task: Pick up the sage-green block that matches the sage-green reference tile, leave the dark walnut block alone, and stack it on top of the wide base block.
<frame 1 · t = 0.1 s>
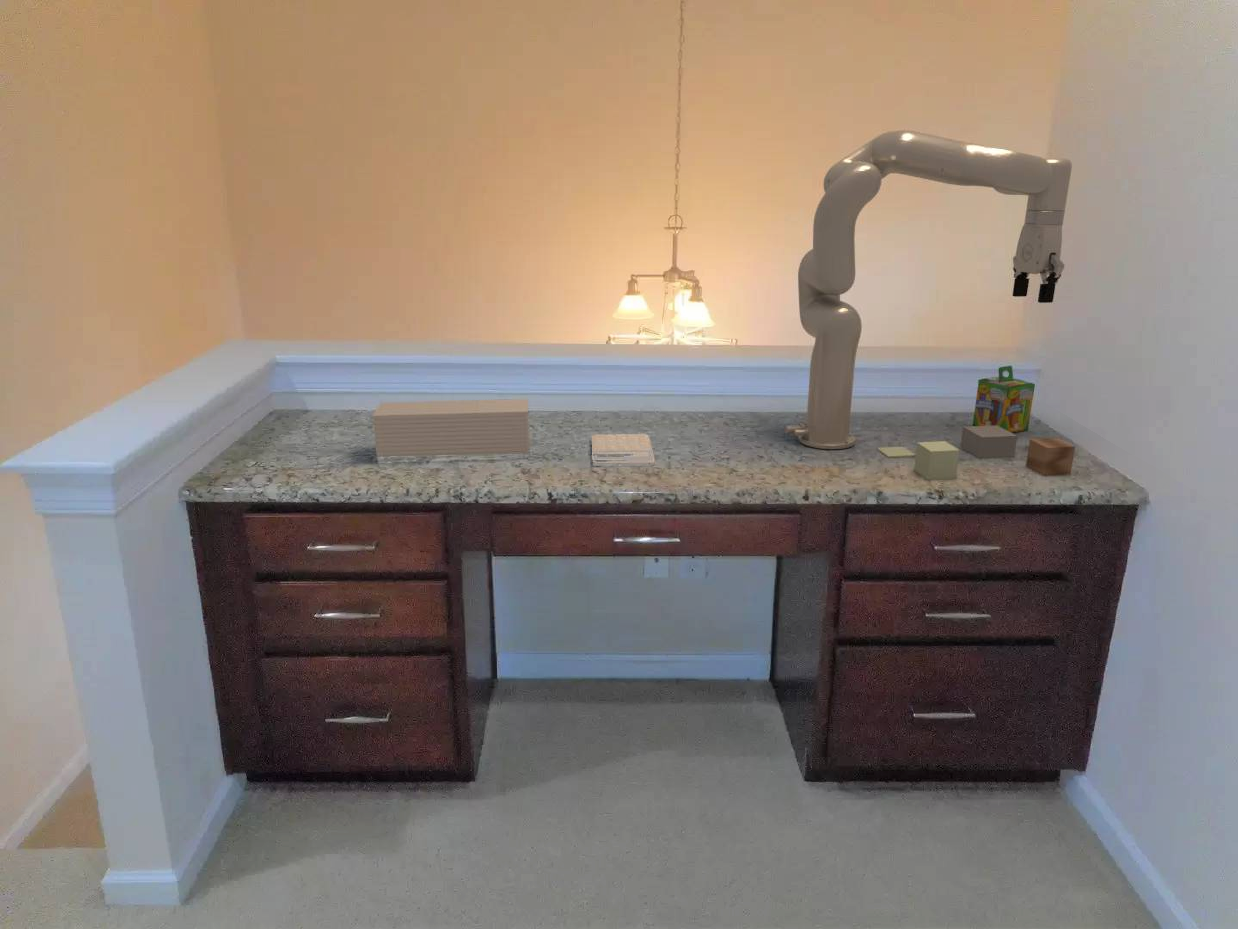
hand: (1032, 299, 191), 31 cm above the table, tool pointing down, fingers open, 9 cm apart
reference tile: (895, 453, 188), on the table
base block: (986, 453, 188), on the table
walnut block: (1047, 470, 177), on the table
sage block: (934, 474, 175), on the table
chalk box: (999, 429, 206), on the table
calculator: (621, 455, 189), on the table
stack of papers: (456, 455, 189), on the table
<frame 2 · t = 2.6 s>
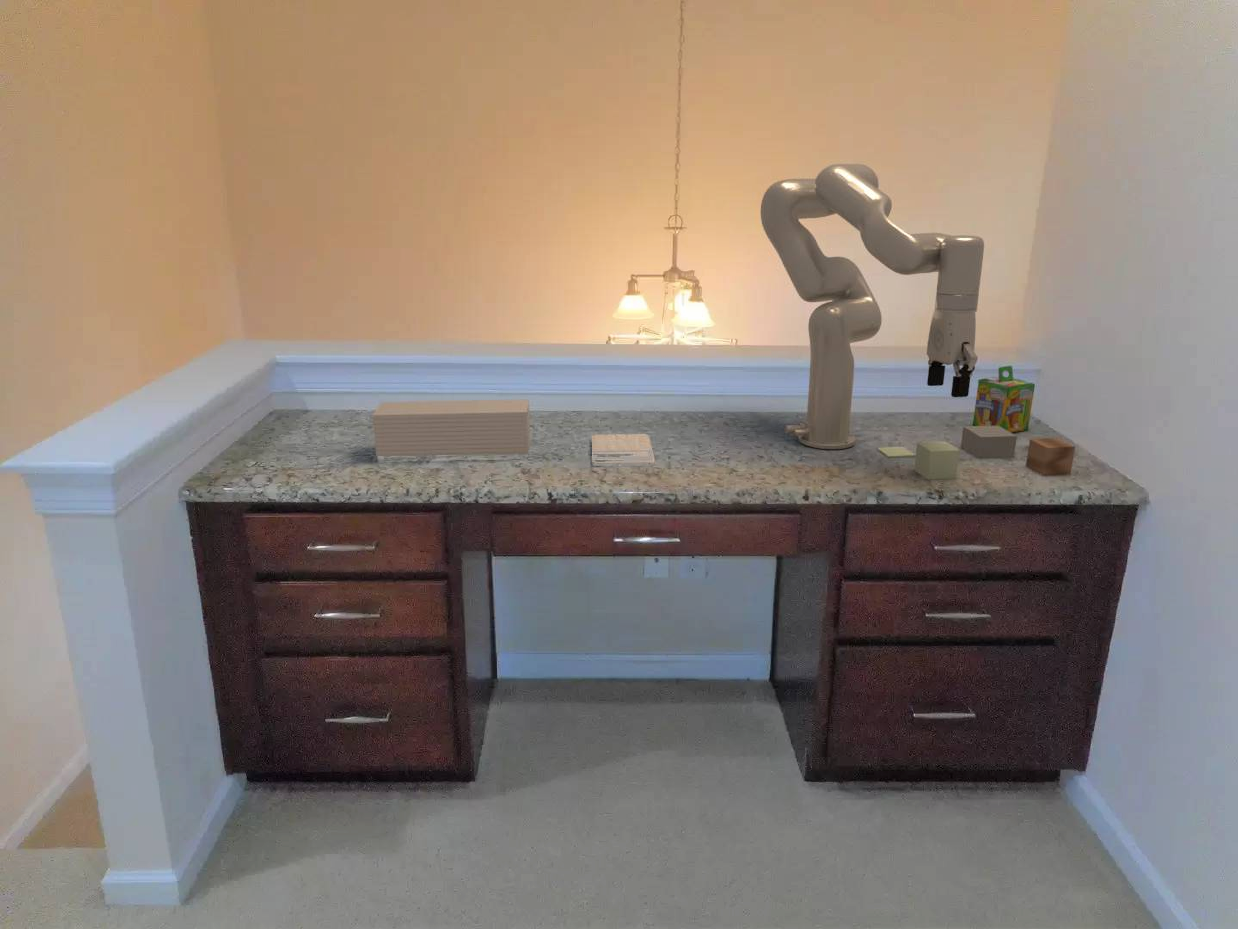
hand: (947, 390, 169), 17 cm above the table, tool pointing down, fingers open, 9 cm apart
nothing on the table moved.
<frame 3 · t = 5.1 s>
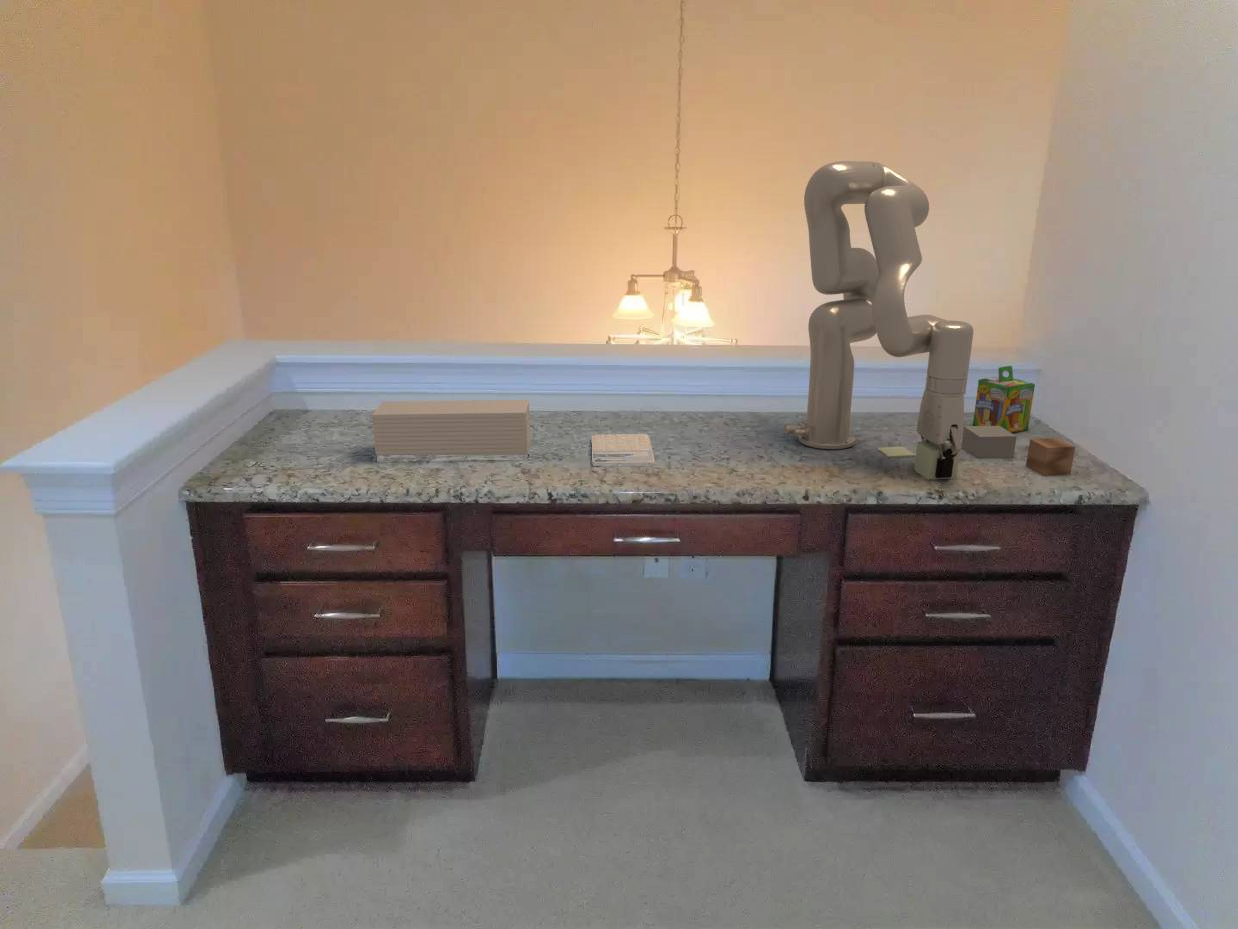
hand: (935, 471, 175), 1 cm above the table, tool pointing down, fingers closed on sage block, 6 cm apart
sage block: (934, 474, 175), on the table, touching gripper
everything else where it was.
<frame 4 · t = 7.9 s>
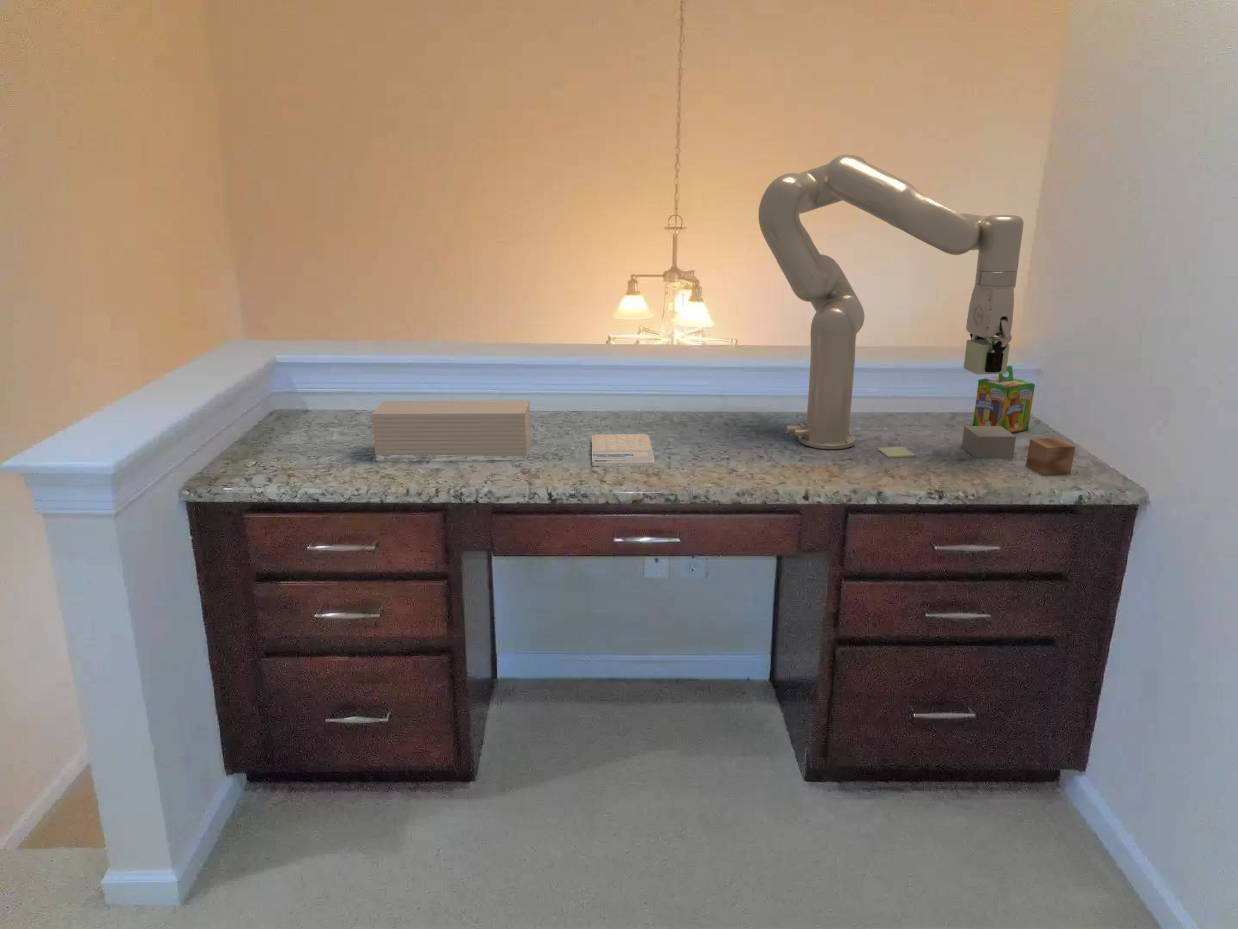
hand: (984, 367, 177), 20 cm above the table, tool pointing down, fingers closed on sage block, 6 cm apart
sage block: (984, 370, 178), point 19 cm above the table, touching gripper
everything else where it was.
when the fingers open (7 cm above the table, at t = 10.8 s): sage block drops 2 cm, resting on base block.
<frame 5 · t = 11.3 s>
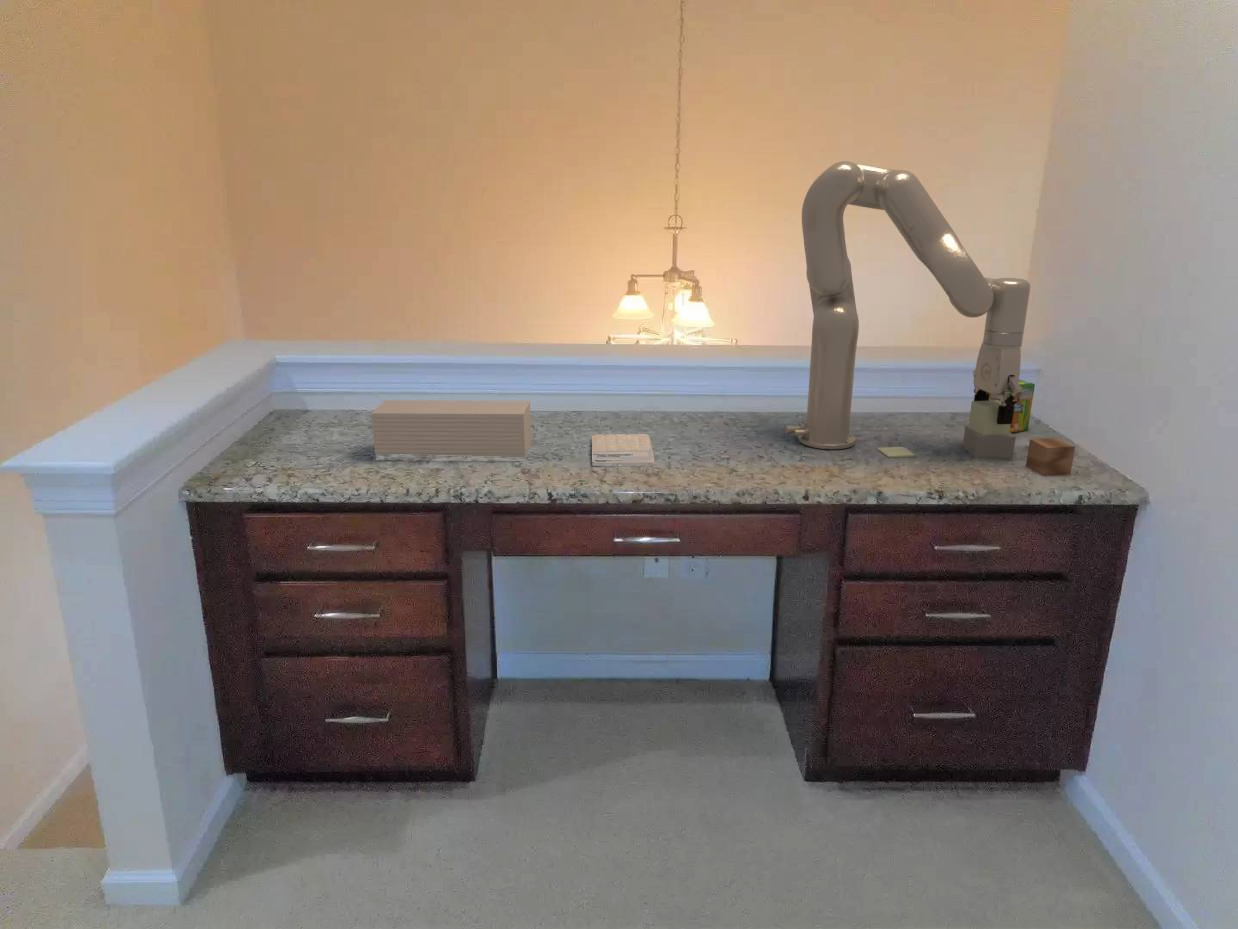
hand: (991, 417, 186), 8 cm above the table, tool pointing down, fingers open, 9 cm apart
base block: (986, 453, 188), on the table, touching sage block
sage block: (988, 431, 187), point 5 cm above the table, touching base block
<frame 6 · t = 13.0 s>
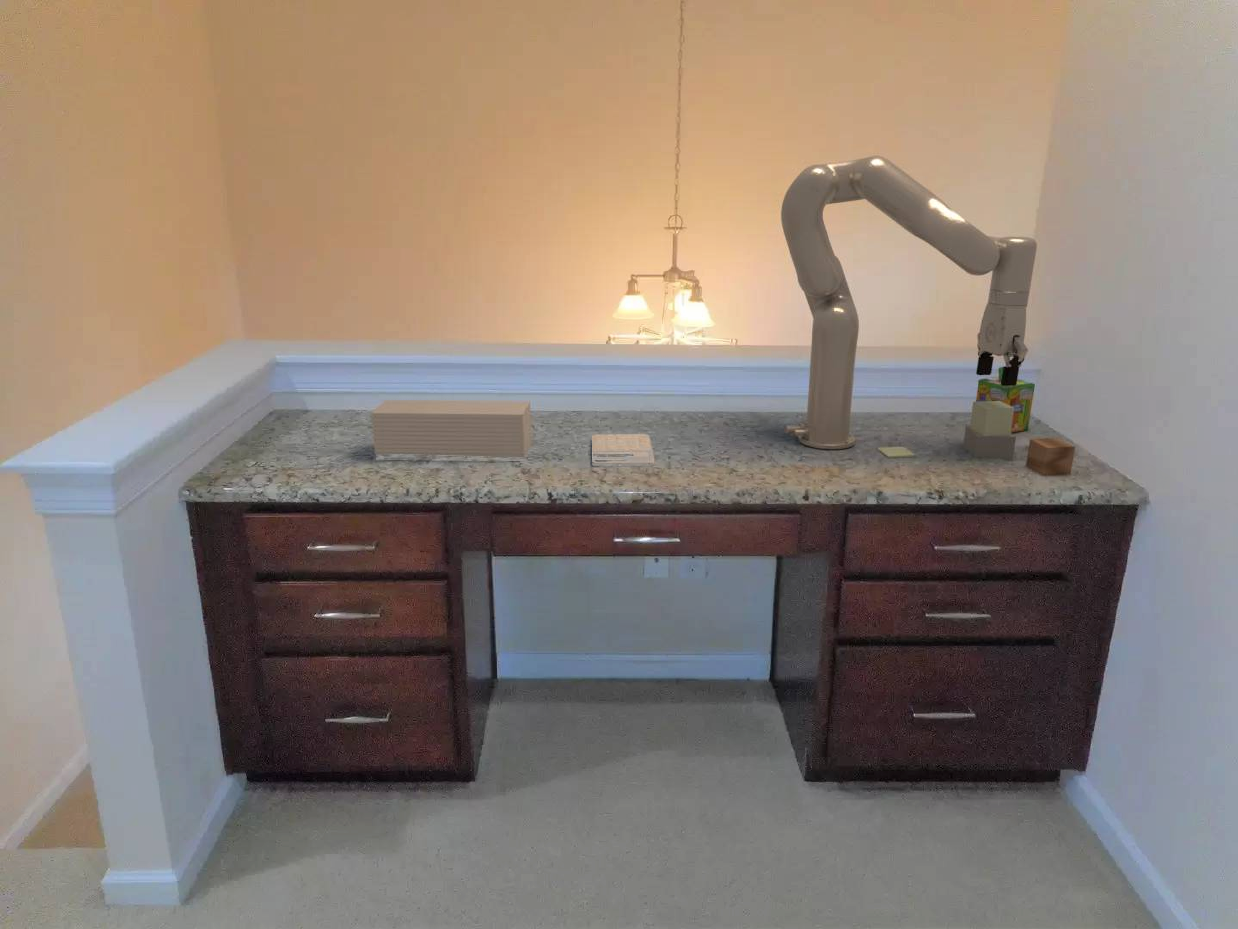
hand: (995, 379, 183), 16 cm above the table, tool pointing down, fingers open, 9 cm apart
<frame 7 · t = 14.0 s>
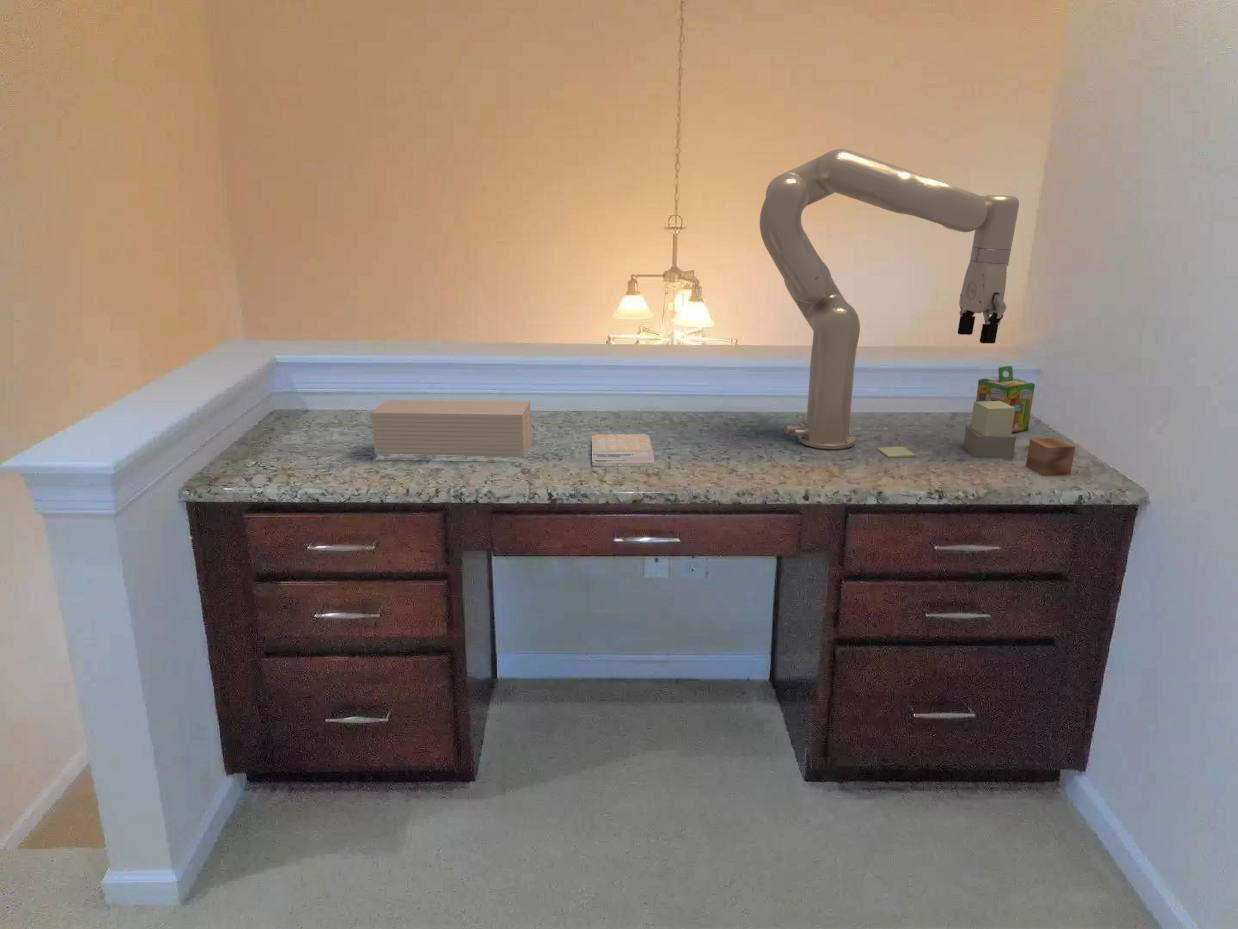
hand: (975, 338, 185), 24 cm above the table, tool pointing down, fingers open, 9 cm apart
nothing on the table moved.
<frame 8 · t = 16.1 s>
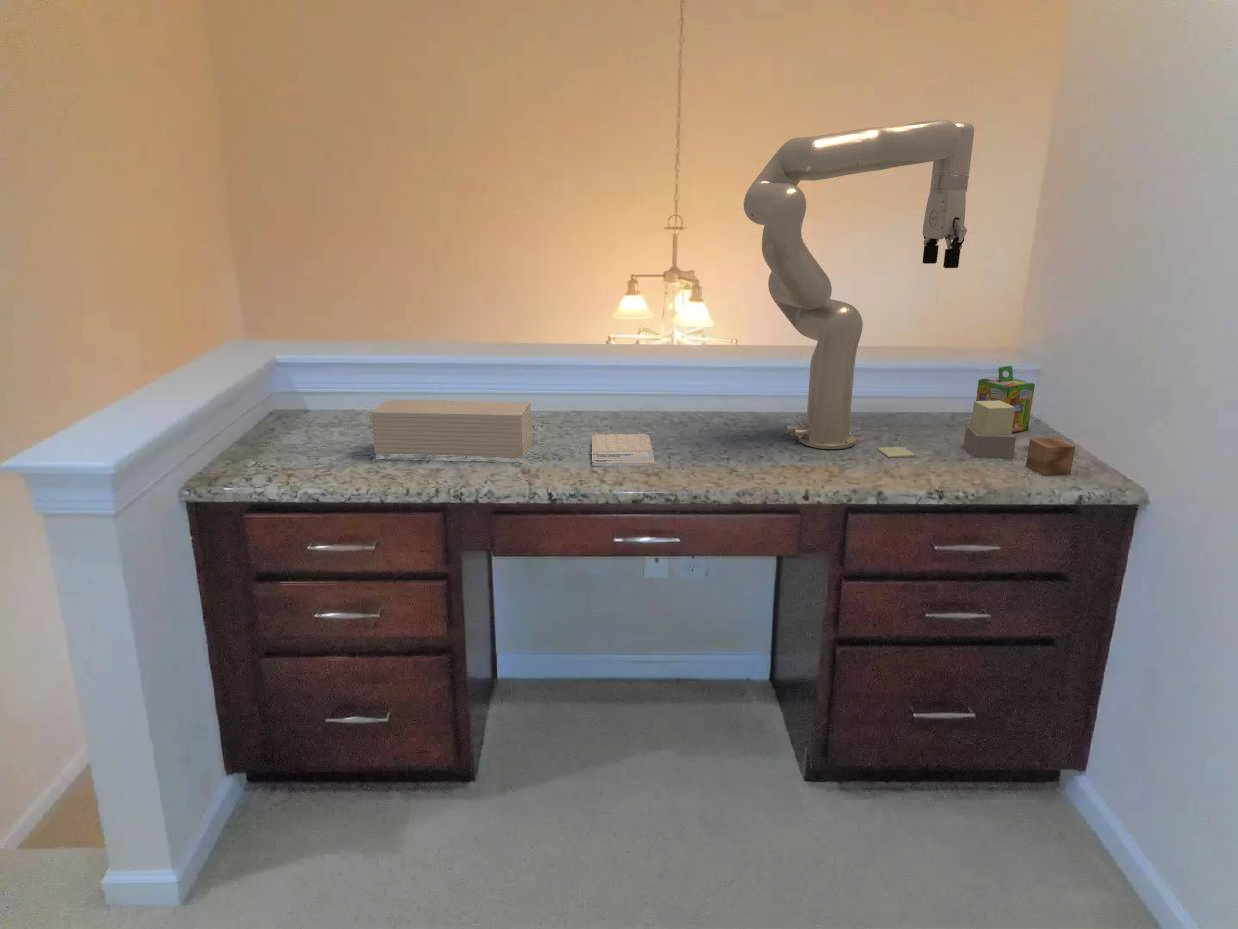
hand: (939, 265, 191), 38 cm above the table, tool pointing down, fingers open, 9 cm apart
at the end: sage block 0.0 cm off-centre on the base block, point 5.0 cm above the base block's base; sage block tilted 0°; the gripper is holding nothing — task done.
